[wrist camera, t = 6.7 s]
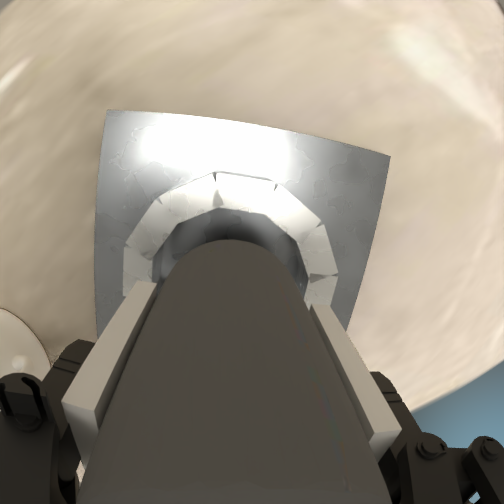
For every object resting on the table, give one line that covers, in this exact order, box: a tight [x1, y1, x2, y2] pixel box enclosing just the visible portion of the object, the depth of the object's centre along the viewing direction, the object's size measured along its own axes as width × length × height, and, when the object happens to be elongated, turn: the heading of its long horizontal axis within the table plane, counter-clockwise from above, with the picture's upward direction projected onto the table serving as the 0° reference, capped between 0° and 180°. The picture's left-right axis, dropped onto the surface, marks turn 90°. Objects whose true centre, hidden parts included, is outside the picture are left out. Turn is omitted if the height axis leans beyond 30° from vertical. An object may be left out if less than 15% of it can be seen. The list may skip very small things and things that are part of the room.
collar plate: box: [94, 110, 391, 339], centre depth 17 cm, size 16×16×4 cm
